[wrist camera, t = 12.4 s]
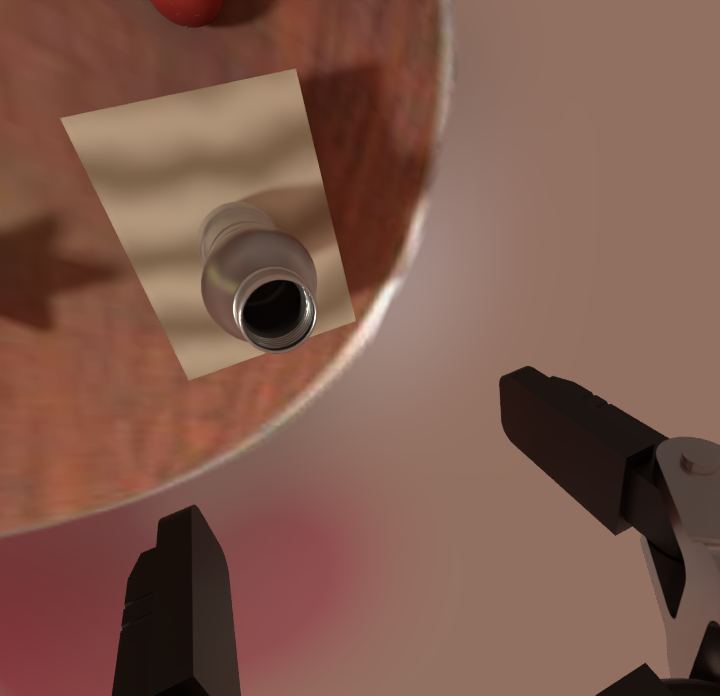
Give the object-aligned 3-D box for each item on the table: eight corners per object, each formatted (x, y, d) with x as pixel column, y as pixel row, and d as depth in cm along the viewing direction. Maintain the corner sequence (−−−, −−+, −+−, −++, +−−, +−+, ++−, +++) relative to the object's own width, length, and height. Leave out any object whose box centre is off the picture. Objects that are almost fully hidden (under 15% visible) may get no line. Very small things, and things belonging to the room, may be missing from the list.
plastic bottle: (285, 216, 37) (370, 268, 20) (260, 288, 38) (318, 394, 21) (209, 185, 34) (230, 215, 17) (186, 265, 35) (183, 366, 18)
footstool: (83, 124, 36) (60, 118, 29) (276, 82, 39) (295, 68, 33) (188, 346, 46) (188, 380, 39) (332, 297, 50) (355, 320, 43)
